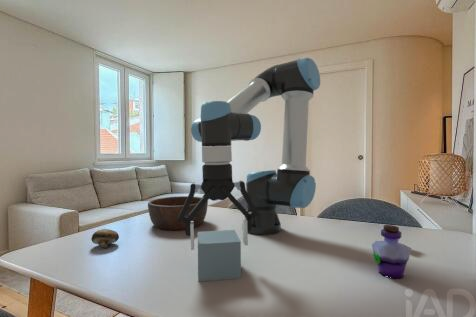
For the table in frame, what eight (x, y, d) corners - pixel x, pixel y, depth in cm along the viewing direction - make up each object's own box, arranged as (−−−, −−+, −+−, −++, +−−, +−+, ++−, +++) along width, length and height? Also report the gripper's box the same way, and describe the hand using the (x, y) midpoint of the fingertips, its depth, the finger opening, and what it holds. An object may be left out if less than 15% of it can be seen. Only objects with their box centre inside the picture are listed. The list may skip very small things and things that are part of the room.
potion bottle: (363, 270, 68) (363, 223, 68) (387, 264, 72) (387, 219, 72) (395, 285, 60) (395, 232, 60) (420, 278, 64) (420, 228, 64)
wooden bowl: (203, 232, 102) (203, 206, 102) (138, 233, 103) (138, 206, 103) (211, 217, 127) (210, 195, 127) (158, 217, 128) (158, 196, 128)
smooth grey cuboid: (234, 261, 75) (234, 229, 74) (240, 278, 65) (240, 241, 64) (197, 263, 73) (197, 231, 73) (198, 281, 63) (197, 244, 63)
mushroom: (105, 242, 82) (106, 223, 85) (84, 250, 83) (86, 231, 87) (123, 247, 88) (123, 229, 92) (104, 255, 90) (105, 237, 93)
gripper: (261, 161, 74) (263, 237, 75) (168, 164, 70) (171, 244, 71) (268, 162, 66) (270, 247, 67) (164, 166, 63) (168, 255, 63)
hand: (219, 245), depth 69 cm, fingers open, 13 cm apart
